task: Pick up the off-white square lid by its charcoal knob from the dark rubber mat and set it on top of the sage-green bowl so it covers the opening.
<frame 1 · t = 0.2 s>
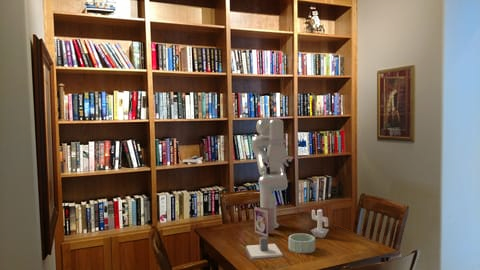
hand: (277, 173, 205), 36 cm above the table, tool pointing down, fingers open, 9 cm apart
greeting card: (265, 233, 219), on the table
mat: (263, 252, 189), on the table
figurine: (319, 236, 212), on the table
bowl: (301, 249, 193), on the table
lid: (263, 251, 189), resting on mat
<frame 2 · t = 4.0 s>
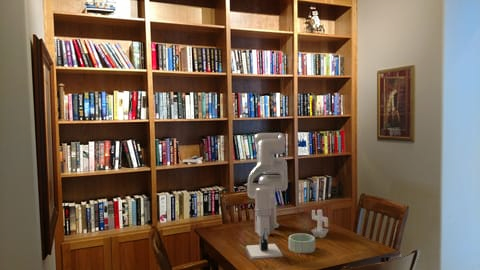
hand: (263, 247, 189), 2 cm above the table, tool pointing down, fingers closed on lid, 3 cm apart
lid: (263, 251, 189), point 1 cm above the table, touching gripper, mat
everything else where it was.
when the fingers open (9 cm above the table, at t = 9.4 s): lid drops 1 cm, resting on bowl.
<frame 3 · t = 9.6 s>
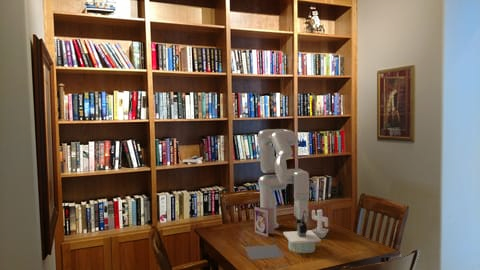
hand: (301, 230, 192), 10 cm above the table, tool pointing down, fingers open, 5 cm apart
lid: (301, 237, 192), point 6 cm above the table, touching bowl
everything else where it was.
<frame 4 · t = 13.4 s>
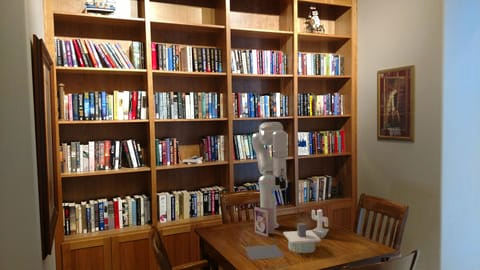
hand: (280, 186, 201), 30 cm above the table, tool pointing down, fingers open, 9 cm apart
nothing on the table moved.
at the end: lid 0.1 cm off-centre on the bowl, point 6.0 cm above the bowl's base; lid tilted 0°; the gripper is holding nothing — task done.
